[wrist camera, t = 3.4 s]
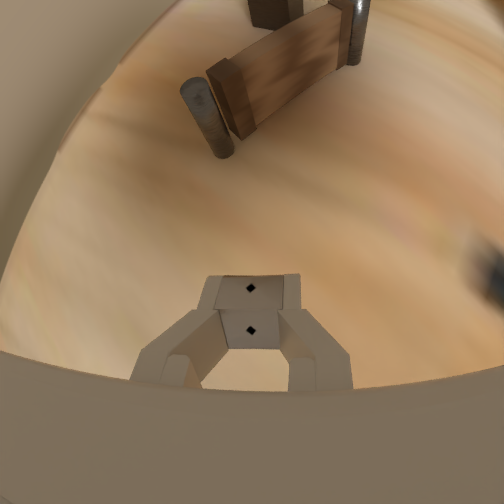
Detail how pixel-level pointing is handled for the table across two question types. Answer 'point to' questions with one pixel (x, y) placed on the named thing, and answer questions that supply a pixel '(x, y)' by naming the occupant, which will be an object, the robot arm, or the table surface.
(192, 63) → the table surface
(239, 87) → the brown wooden bar
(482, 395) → the robot arm
